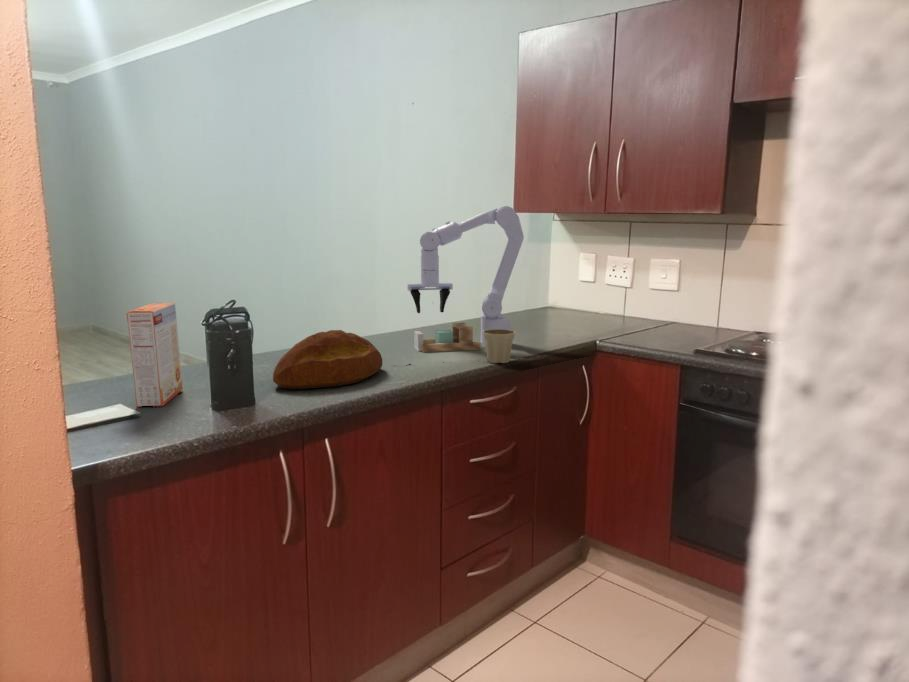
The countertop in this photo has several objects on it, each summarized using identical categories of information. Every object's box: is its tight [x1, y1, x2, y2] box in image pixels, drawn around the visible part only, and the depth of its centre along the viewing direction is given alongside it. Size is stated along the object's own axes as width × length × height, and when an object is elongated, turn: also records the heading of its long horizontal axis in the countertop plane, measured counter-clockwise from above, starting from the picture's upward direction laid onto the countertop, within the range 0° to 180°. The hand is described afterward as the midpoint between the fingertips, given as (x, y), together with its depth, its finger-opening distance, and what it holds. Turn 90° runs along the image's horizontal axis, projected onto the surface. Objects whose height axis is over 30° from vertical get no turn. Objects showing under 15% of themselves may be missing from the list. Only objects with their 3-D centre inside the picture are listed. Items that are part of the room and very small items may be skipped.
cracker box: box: [126, 302, 184, 408], centre depth 145 cm, size 14×6×21 cm, turn 5°
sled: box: [413, 330, 454, 352], centre depth 202 cm, size 12×7×5 cm, turn 104°
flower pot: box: [483, 329, 517, 364], centre depth 186 cm, size 9×9×9 cm
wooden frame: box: [421, 322, 482, 353], centre depth 203 cm, size 18×10×8 cm, turn 104°
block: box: [434, 329, 453, 344], centre depth 202 cm, size 4×4×4 cm
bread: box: [272, 329, 383, 390], centre depth 165 cm, size 21×33×12 cm, turn 137°
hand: (430, 312), depth 212 cm, fingers open, 7 cm apart
